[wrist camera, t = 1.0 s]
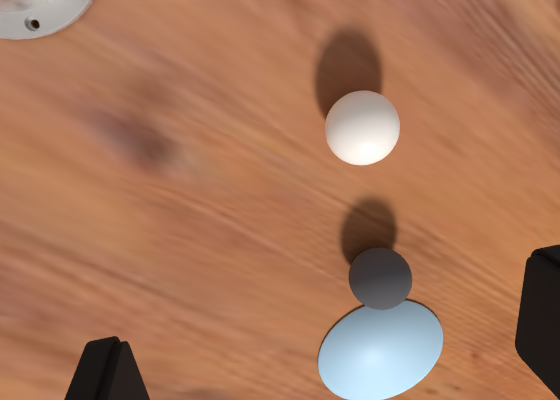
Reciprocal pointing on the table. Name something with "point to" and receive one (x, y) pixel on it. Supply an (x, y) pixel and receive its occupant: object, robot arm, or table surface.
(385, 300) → the black ball
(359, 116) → the ivory ball
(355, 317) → the blue mark
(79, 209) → the table surface
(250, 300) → the table surface
